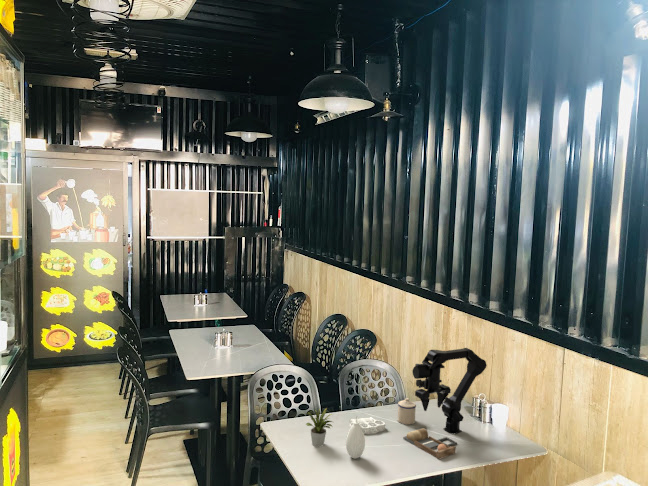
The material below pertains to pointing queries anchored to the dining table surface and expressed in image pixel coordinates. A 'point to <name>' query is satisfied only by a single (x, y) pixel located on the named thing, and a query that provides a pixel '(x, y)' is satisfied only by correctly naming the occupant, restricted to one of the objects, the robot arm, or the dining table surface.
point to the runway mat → (424, 442)
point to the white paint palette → (369, 425)
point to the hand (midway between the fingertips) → (432, 409)
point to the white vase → (355, 440)
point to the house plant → (318, 428)
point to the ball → (441, 447)
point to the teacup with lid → (406, 411)
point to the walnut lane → (439, 453)
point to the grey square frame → (448, 440)
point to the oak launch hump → (417, 435)
